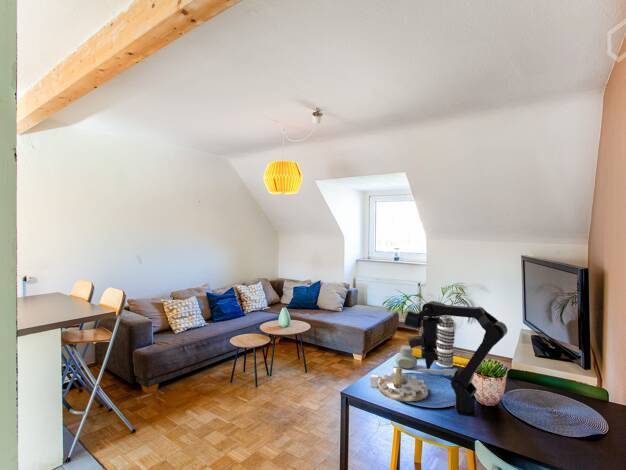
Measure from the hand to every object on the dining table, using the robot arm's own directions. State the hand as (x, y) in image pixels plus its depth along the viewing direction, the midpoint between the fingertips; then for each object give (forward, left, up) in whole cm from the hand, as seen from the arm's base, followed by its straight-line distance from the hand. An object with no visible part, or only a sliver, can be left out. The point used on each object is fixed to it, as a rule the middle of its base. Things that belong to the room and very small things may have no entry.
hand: (427, 368), depth 145 cm
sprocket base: (+10, -5, -13) cm, 17 cm away
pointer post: (+23, -5, -13) cm, 26 cm away
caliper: (-6, -26, -13) cm, 30 cm away
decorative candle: (-10, -42, -13) cm, 46 cm away
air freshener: (+9, -33, -13) cm, 37 cm away
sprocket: (+10, -5, -11) cm, 16 cm away
